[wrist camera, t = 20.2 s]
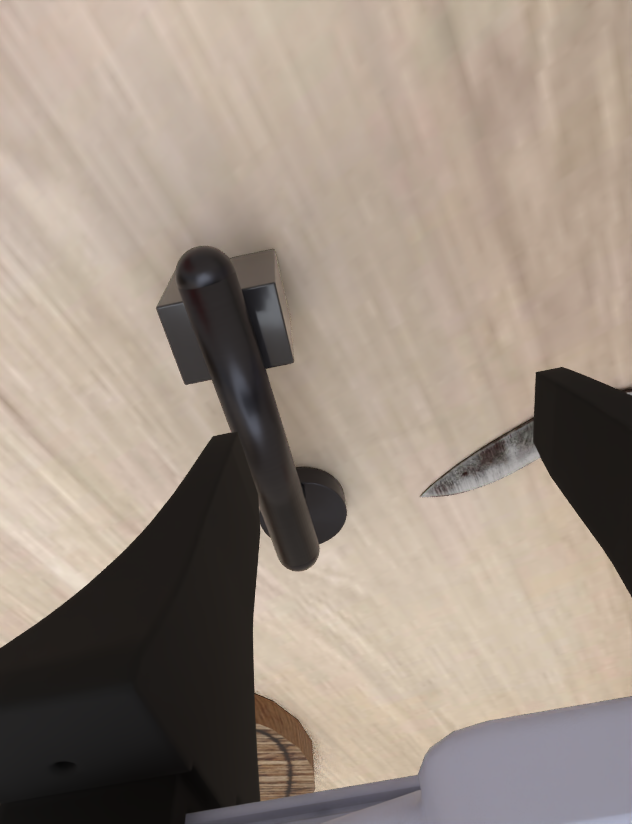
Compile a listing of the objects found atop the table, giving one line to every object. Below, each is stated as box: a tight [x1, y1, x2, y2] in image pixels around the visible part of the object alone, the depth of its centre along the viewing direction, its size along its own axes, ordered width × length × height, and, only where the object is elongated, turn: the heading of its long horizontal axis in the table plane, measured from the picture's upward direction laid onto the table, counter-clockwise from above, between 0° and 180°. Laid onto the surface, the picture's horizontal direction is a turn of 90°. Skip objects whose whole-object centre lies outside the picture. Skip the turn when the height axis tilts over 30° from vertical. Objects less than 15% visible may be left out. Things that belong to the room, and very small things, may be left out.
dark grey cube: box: [156, 249, 294, 385], centre depth 20 cm, size 3×4×4 cm
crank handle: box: [175, 246, 347, 571], centre depth 22 cm, size 17×4×6 cm, turn 12°
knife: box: [421, 389, 632, 497], centre depth 26 cm, size 18×1×5 cm
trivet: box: [255, 694, 315, 801], centre depth 40 cm, size 25×25×2 cm
